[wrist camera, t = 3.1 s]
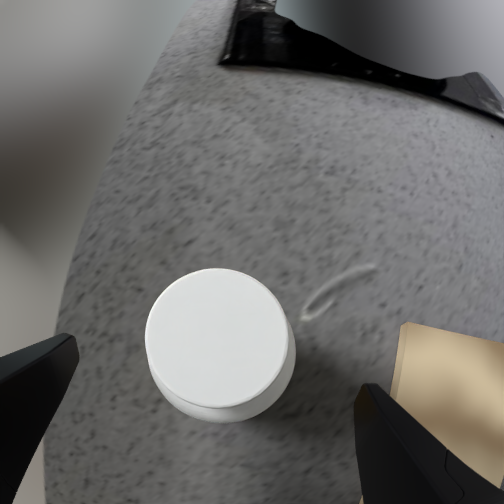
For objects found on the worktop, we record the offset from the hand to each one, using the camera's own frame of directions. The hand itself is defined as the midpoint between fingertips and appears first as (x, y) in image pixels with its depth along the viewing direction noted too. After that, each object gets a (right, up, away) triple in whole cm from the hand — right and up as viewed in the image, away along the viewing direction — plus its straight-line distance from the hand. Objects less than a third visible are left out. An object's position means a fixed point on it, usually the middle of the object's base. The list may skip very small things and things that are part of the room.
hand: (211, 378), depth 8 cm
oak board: (+15, -9, +6) cm, 18 cm away
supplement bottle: (0, -3, +9) cm, 9 cm away
